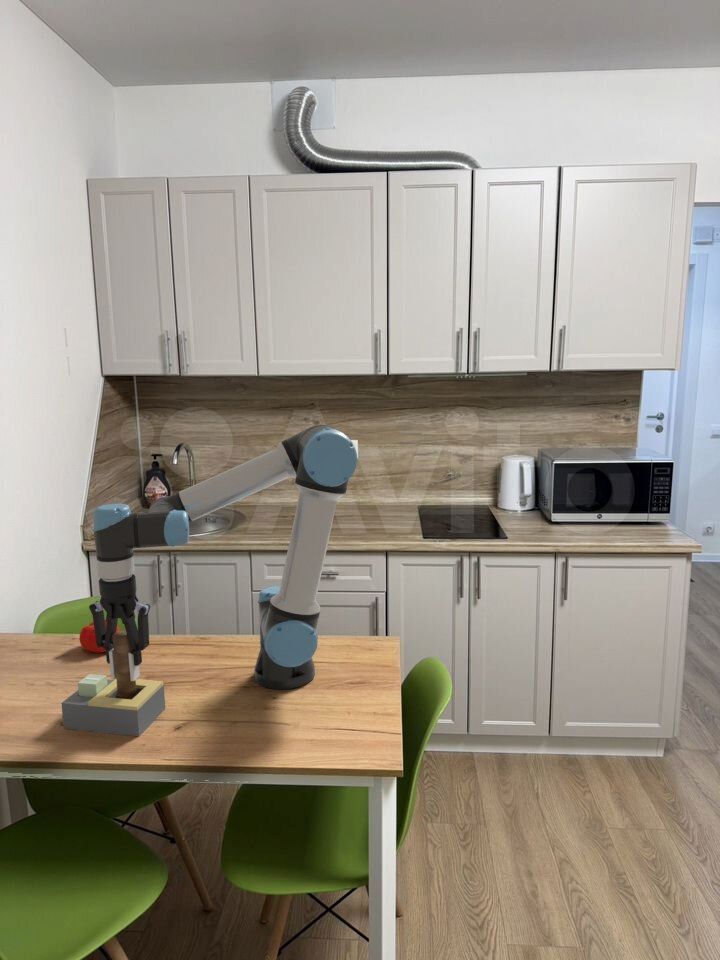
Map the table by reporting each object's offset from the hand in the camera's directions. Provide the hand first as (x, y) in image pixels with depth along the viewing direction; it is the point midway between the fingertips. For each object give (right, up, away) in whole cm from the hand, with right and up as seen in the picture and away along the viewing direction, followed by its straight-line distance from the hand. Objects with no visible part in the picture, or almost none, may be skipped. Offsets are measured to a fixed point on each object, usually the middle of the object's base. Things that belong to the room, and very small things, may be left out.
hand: (125, 677), depth 157 cm
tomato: (-20, -3, +40) cm, 45 cm away
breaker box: (-3, -10, +2) cm, 11 cm away
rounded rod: (0, -6, +1) cm, 6 cm away
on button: (-8, -5, +3) cm, 10 cm away
